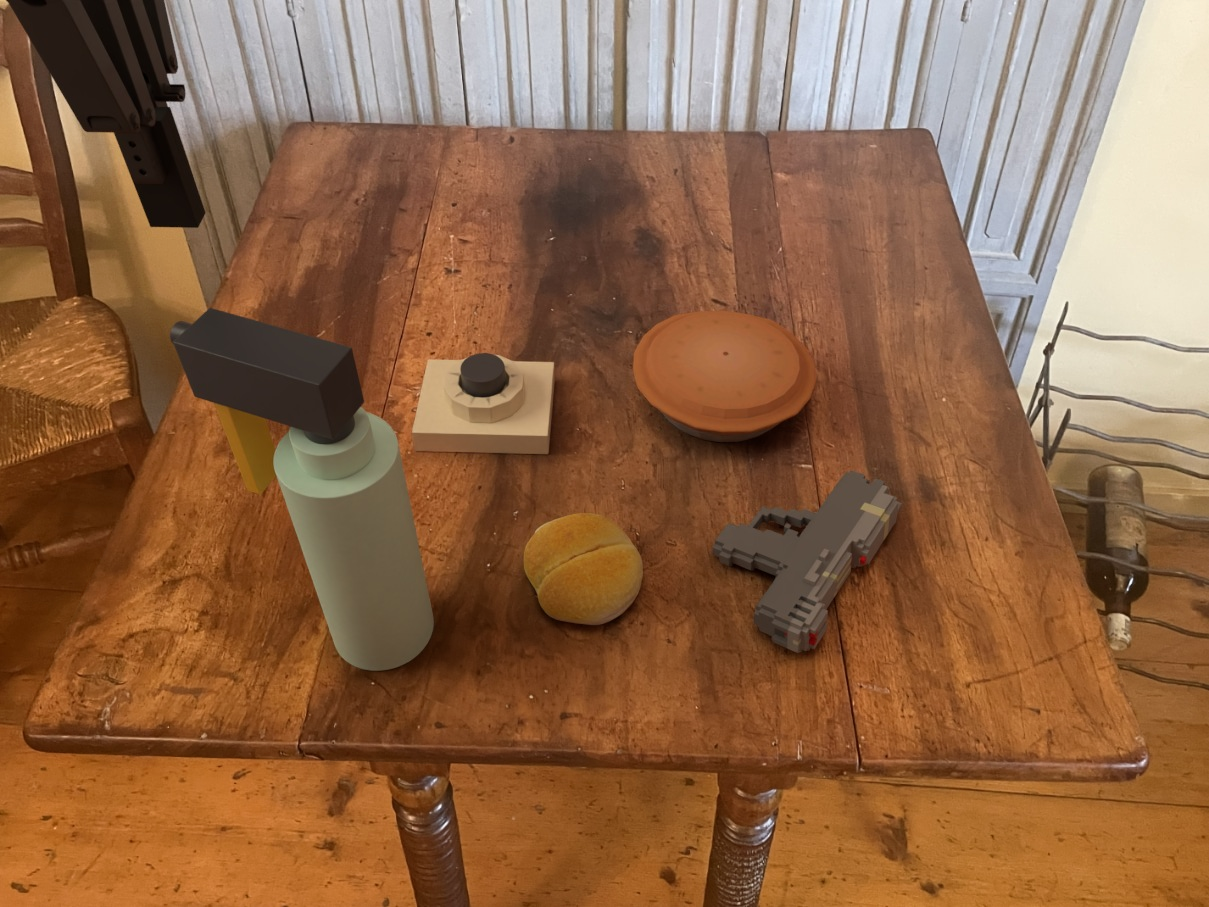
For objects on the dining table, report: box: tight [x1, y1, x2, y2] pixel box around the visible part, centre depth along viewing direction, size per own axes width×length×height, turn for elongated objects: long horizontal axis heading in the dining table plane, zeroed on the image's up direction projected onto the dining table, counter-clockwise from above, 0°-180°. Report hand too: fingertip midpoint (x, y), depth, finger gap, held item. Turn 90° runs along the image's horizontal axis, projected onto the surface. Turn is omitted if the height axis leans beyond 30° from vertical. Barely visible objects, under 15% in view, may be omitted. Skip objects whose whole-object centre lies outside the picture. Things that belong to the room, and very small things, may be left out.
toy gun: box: [712, 469, 903, 654], centre depth 73 cm, size 4×16×10 cm
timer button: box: [460, 352, 506, 398], centre depth 81 cm, size 4×4×2 cm
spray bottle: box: [169, 307, 435, 672], centre depth 61 cm, size 12×7×25 cm, turn 69°
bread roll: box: [523, 512, 644, 626], centre depth 71 cm, size 8×9×4 cm
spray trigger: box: [213, 403, 277, 496], centre depth 59 cm, size 1×2×8 cm, turn 159°
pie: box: [632, 309, 817, 443], centre depth 84 cm, size 15×16×5 cm
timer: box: [411, 354, 556, 455], centre depth 83 cm, size 11×9×4 cm
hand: (178, 219), depth 56 cm, fingers closed
